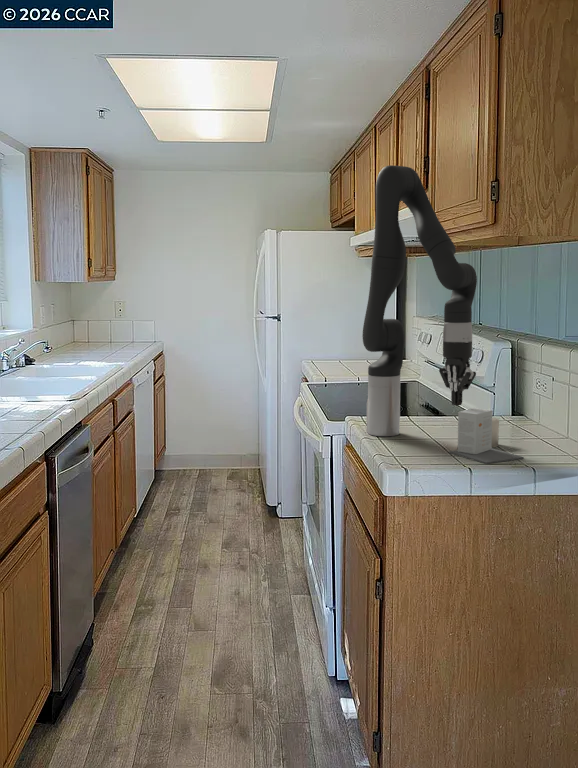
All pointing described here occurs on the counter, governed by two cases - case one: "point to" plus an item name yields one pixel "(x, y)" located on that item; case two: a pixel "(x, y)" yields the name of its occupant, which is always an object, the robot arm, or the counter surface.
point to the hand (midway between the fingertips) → (456, 405)
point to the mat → (489, 456)
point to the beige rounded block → (495, 432)
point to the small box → (474, 430)
